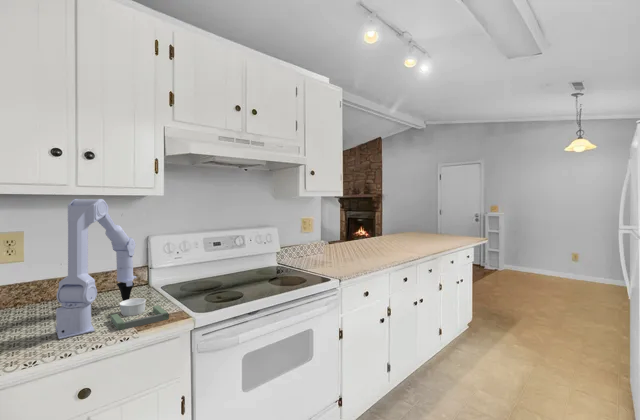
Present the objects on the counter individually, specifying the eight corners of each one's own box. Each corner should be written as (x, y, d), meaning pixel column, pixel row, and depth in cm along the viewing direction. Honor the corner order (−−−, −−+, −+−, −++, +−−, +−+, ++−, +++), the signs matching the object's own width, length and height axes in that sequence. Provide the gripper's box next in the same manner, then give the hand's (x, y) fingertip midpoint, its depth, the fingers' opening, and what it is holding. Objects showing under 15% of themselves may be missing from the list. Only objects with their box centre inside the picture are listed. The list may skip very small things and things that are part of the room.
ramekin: (134, 317, 126) (134, 306, 125) (113, 315, 127) (113, 304, 127) (151, 309, 134) (151, 298, 134) (131, 308, 136) (131, 297, 136)
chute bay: (118, 330, 114) (118, 324, 113) (111, 320, 123) (110, 314, 122) (168, 318, 124) (168, 313, 124) (158, 310, 133) (158, 305, 133)
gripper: (140, 268, 136) (141, 302, 137) (131, 262, 147) (132, 294, 148) (120, 271, 131) (121, 306, 132) (112, 265, 142) (113, 297, 143)
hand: (125, 300), depth 139 cm, fingers closed
